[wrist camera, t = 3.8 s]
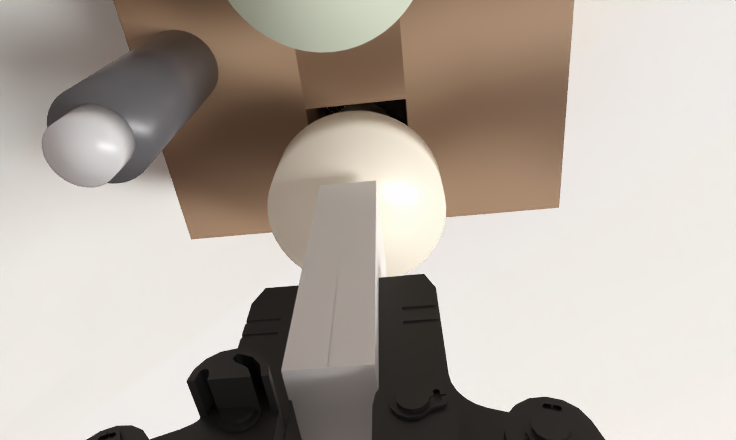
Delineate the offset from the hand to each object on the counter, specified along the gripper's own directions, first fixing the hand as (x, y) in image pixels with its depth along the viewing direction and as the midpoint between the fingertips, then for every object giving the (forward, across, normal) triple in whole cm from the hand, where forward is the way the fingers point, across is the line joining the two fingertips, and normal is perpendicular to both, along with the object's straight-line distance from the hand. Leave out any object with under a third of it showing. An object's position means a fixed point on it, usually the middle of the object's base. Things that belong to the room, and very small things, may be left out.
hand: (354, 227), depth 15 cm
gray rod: (+5, -5, +4) cm, 8 cm away
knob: (+7, 0, 0) cm, 7 cm away
